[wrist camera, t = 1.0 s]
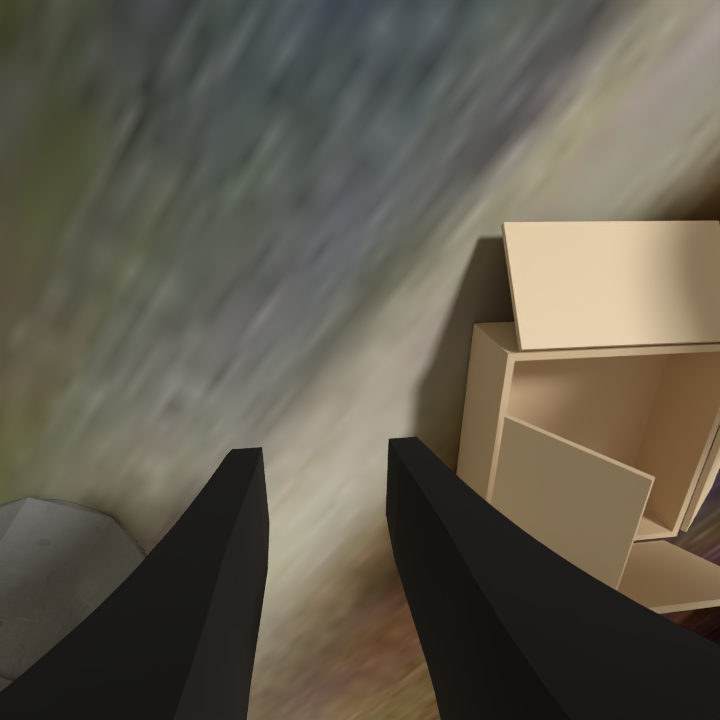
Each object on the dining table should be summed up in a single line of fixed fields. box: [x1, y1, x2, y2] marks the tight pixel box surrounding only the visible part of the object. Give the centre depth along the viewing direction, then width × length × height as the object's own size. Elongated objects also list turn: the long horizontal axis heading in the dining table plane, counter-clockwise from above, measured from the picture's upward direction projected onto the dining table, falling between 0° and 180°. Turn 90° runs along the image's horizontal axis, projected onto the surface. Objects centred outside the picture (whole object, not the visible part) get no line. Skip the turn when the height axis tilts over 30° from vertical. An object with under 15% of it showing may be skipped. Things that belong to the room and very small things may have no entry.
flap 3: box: [617, 540, 720, 614], centre depth 18 cm, size 8×1×5 cm, turn 90°
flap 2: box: [491, 415, 655, 590], centre depth 16 cm, size 1×5×5 cm
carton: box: [456, 322, 720, 540], centre depth 20 cm, size 10×10×4 cm
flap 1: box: [501, 221, 720, 351], centre depth 17 cm, size 9×1×5 cm
